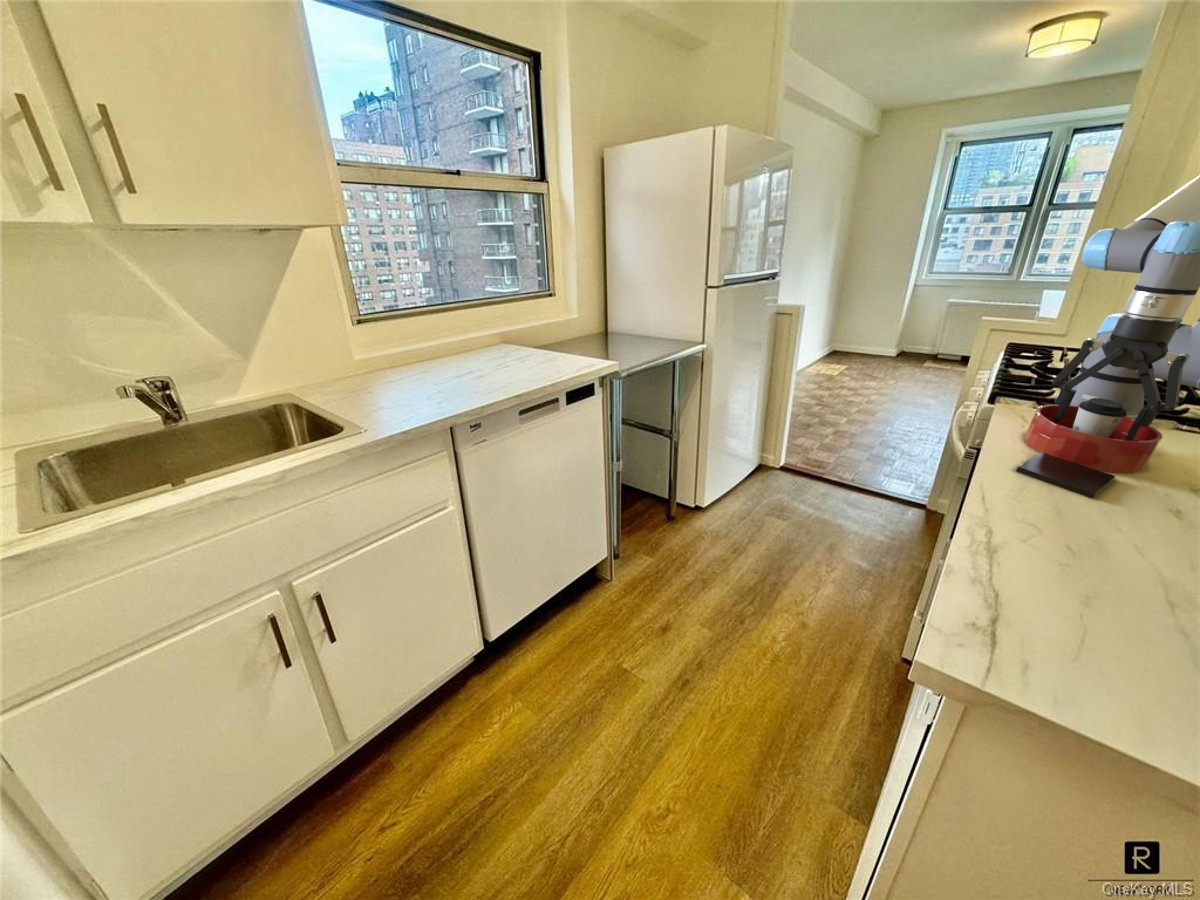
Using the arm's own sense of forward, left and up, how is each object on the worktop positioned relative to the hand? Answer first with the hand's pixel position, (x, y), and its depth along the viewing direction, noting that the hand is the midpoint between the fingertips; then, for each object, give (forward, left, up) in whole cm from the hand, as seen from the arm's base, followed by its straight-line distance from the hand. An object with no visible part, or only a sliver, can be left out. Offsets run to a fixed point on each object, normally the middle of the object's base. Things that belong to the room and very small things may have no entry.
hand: (1091, 430), depth 96 cm
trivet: (+16, +2, -5) cm, 17 cm away
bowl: (0, 0, -5) cm, 5 cm away
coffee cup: (0, 0, -4) cm, 4 cm away
